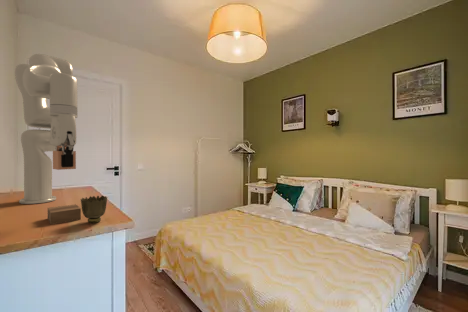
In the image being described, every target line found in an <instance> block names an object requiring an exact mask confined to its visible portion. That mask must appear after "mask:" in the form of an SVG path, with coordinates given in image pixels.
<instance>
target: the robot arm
mask: <svg viewBox="0 0 468 312" xmlns="http://www.w3.org/2000/svg"><path fill="white" fill-rule="evenodd" d="M73 73H74V69H73V65H72V64H71V63H70V62H69V61H68V60H66V59H63V58H60V57H55V56H52V55H48V54H43V53H35V54H34V53H33V54H32V55H30V57H29V58H28V63H19V64H17V65H16V66H15V68H14V77H15V78H14V79H15V82H16V85H17V87H18V89H19V91H20V94H21V96H22V105H23V108H22V109H23V119H24V122H25V124H26V125H27V127H31V128H33V129H26V130H25V131H23V132H22V133H21V135H20V142H21V148H22V153H23V198H21V199H19V201H18V202H19V204H21V205H31V204H32V205H33V204H36V205H37V204H44V203H49V202H53V201H56V200H57V196H56V195H53V160H52V159H51V158H50V156H49V155H47V154H46V153H47V152H53V151H62V153H63V155H61V166H62V167H73V154H74V152H73V151H74V148H75V145H76V144H77V124H76V123H77V122H76V119H77V118H78V80H77V78H76V77H75V76H73ZM48 100H49V104H48ZM48 105H49V106H48ZM34 128H36V129H34ZM38 128H39V129H38ZM49 129H50V130H49ZM45 152H46V153H45Z"/></svg>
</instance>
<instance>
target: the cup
mask: <svg viewBox="0 0 468 312" xmlns="http://www.w3.org/2000/svg"><path fill="white" fill-rule="evenodd" d="M107 201H108V196H104V195H101V196H99V195H96V196H95V195H93V196H91V195H90V196H89V197H87V196H86V197H82V198H80V204H81V213H82V215H83V216H84V217H85V218H87V222H88V223H89V224H98V223H99V222H101V220H102V217H103V216H104V214H105V213H106V210H107Z"/></svg>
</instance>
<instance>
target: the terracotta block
mask: <svg viewBox="0 0 468 312" xmlns="http://www.w3.org/2000/svg"><path fill="white" fill-rule="evenodd" d="M73 152H74V154H73V167H62V166H61V155H63V153H62V151H52V170H58V171H59V170H76V168H77V161H76V159H77V155H76V154H77V153H76V150H73Z"/></svg>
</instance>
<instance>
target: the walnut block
mask: <svg viewBox="0 0 468 312" xmlns="http://www.w3.org/2000/svg"><path fill="white" fill-rule="evenodd" d="M81 213H82V207H80V206H78V204H76V203H75V204H67V205H61V206H60V205H57V206H51V207H47V220H48V222H49V224H50V225H55V224H62V223H63V224H64V223H68V222H69V223H70V222H74V221H78V220H82V219H81V218H82V216H81V215H82V214H81Z"/></svg>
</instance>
